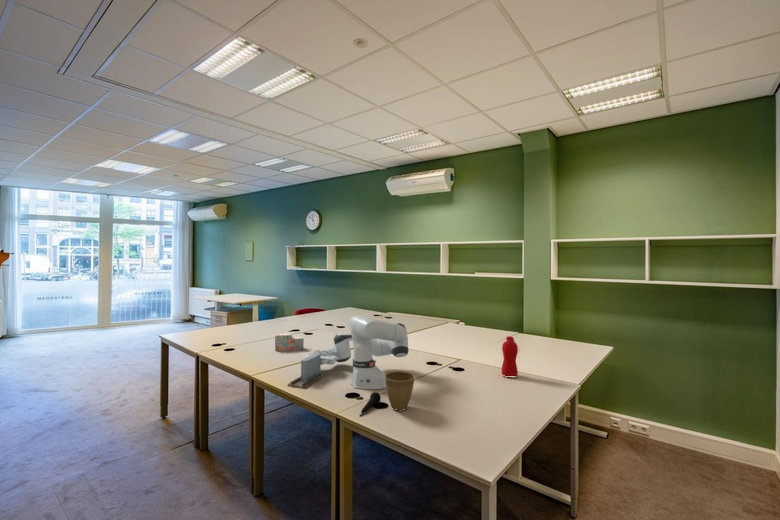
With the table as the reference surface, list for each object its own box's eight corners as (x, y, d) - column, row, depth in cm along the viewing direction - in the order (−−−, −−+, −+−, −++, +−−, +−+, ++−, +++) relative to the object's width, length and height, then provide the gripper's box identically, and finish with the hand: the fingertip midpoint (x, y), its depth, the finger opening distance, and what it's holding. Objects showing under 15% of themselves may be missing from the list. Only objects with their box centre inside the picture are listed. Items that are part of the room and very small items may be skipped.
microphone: (363, 423, 171) (380, 402, 190) (366, 413, 170) (383, 392, 188) (353, 418, 173) (371, 397, 191) (356, 407, 172) (374, 388, 190)
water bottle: (521, 379, 225) (521, 338, 224) (502, 378, 227) (503, 337, 226) (518, 374, 234) (519, 335, 233) (501, 373, 236) (501, 334, 235)
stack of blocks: (303, 348, 293) (303, 332, 292) (303, 350, 287) (303, 334, 286) (275, 349, 289) (276, 333, 289) (274, 351, 283) (274, 335, 283)
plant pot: (418, 412, 177) (419, 379, 176) (389, 415, 172) (389, 382, 172) (408, 400, 191) (408, 369, 190) (380, 403, 186) (381, 372, 186)
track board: (323, 377, 224) (323, 373, 224) (305, 388, 205) (305, 384, 205) (306, 375, 228) (306, 371, 228) (287, 385, 209) (287, 381, 209)
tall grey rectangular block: (320, 373, 229) (320, 354, 229) (306, 381, 214) (306, 361, 214) (315, 372, 230) (315, 353, 230) (301, 380, 215) (301, 360, 215)
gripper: (340, 363, 236) (329, 369, 223) (312, 359, 243) (300, 365, 230) (340, 353, 236) (329, 359, 223) (312, 350, 243) (300, 355, 230)
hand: (314, 362), depth 226 cm, fingers open, 8 cm apart
